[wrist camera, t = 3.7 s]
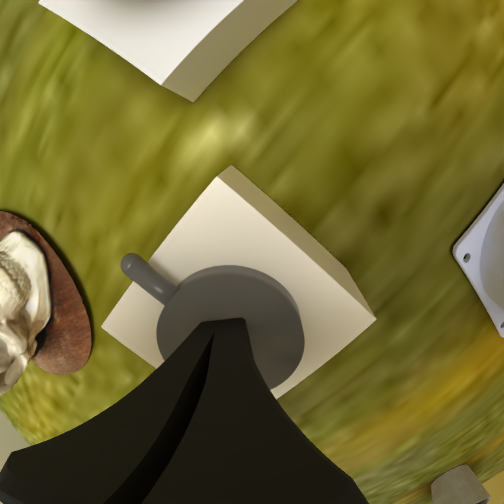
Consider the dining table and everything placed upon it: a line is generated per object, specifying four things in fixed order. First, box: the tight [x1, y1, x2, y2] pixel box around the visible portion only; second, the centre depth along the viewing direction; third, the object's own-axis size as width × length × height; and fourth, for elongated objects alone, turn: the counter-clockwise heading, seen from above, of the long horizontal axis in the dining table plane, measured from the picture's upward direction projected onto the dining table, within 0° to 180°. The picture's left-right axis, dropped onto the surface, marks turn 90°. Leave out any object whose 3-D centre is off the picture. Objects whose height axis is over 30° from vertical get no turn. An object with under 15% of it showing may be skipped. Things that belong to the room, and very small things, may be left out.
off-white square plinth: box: [101, 165, 376, 399], centre depth 12 cm, size 7×7×4 cm
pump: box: [121, 253, 305, 390], centre depth 11 cm, size 6×5×4 cm
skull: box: [0, 211, 91, 395], centre depth 14 cm, size 12×10×10 cm
